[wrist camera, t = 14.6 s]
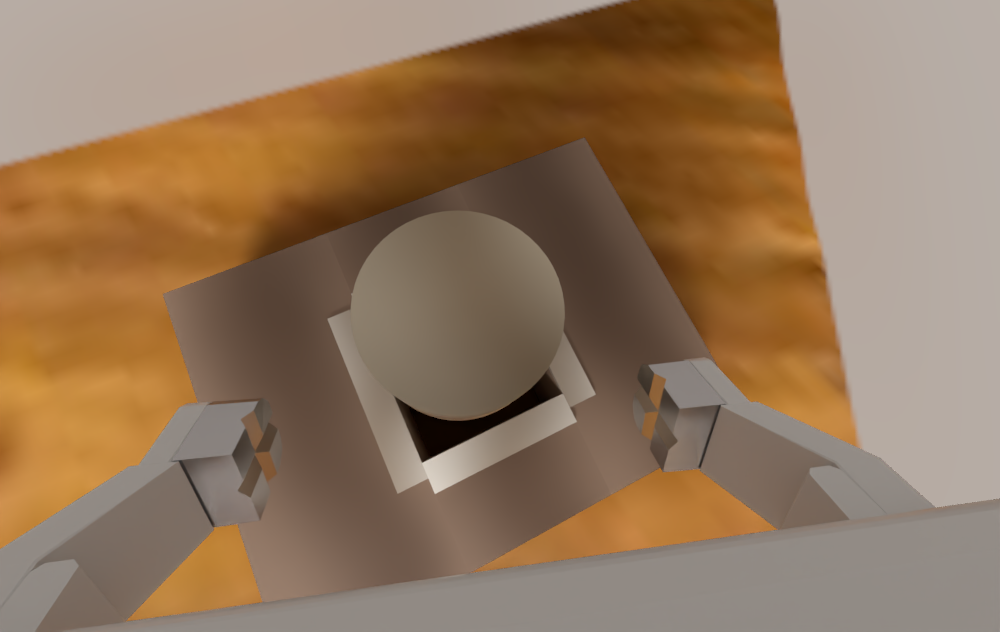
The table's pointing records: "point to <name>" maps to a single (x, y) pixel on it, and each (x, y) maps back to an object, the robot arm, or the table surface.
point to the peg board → (389, 422)
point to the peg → (457, 314)
